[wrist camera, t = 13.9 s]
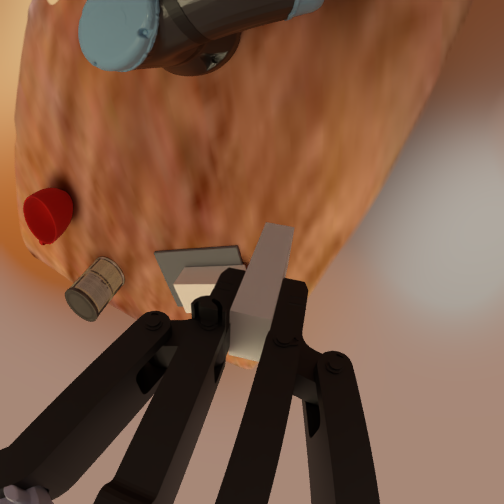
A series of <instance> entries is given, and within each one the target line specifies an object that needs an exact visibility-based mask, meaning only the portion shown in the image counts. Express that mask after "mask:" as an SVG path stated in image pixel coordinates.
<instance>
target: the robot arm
mask: <svg viewBox="0 0 504 504" xmlns="http://www.w3.org/2000/svg"><path fill="white" fill-rule="evenodd" d="M323 2H324V0H87V2H86V4H85V6H84V8H83V12H82V16H81V18H80V21H79V29H78V35H79V42H80V46H81V49H82V52H83V54H84V56H85V57H86V59H87V60H88V61H89V62H90V63H91V64H92V65H93V66H96V67H97V68H100V69H101V70H105V71H118V72H127V71H130V70H136V69H146V68H158V67H162V68H164V69H165V70H167V71H169V72H171V73H173V74H176V75H180V76H199V75H204V74H207V73H210V72H213V71H215V70H216V69H218V68H220V67H221V66H222V65H224V64H225V63H226V62H227V61H228V60H229V59H230V58H231V56H232V55H233V54H234V52H235V50H236V48H237V46H238V43H239V40H240V34H241V31H244V30H247V29H251V28H254V27H258V26H261V25H265V24H269V23H273V22H277V21H281V20H285V21H286V20H288V19H291V18H293V17H295V16H299V15H303V14H307V13H311V12H314V11H316V10H317V9H318V8H320V7H321V6H322V4H323ZM293 233H294V227H289V226H284V225H278V224H273V223H267V222H266V224H265V226H264V229H263V231H262V234H261V236H260V238H259V241H258V243H257V246H256V248H255V251H254V253H253V255H252V258H251V260H250V263H249V265H248V268H247V270H246V271H245V270H240V269H235V268H230V267H229V268H227V269H226V270H225V271H223V272H222V273H221V274H220V276H219V278H218V280H217V282H216V284H215V286H214V288H213V290H212V292H211V294H210V296H209V295H206V296H200V297H198V298H196V299H194V301H193V302H192V303H191V312H192V319H188V320H170V319H169V316H167V315H166V314H165V313H163V312H160V311H151V312H147V313H145V314H144V315H142V316H141V317H140V318H139V319H138V320H137V321H135V322H134V323H133V324H132V325H131V326H130V327H129V328H128V329H127V330H126V331H125V332H124V333H123V334H122V335H121V336H120V337H119V338H118V339H116V341H114V342H113V343H112V344H111V345H110V346H109V347H108V348H107V349H106V350H105V351H104V352H103V353H102V354H101V355H100V356H99V357H98V358H97V359H96V360H94V361H93V362H92V363H91V364H90V365H89V366H88V367H87V368H86V369H85V370H84V371H83V372H82V373H81V374H80V375H79V376H78V377H77V378H76V379H75V380H74V381H73V382H72V383H71V384H70V385H69V386H68V387H67V388H66V389H65V390H64V391H63V392H62V393H61V394H60V395H59V396H58V397H57V398H56V399H55V400H54V401H53V402H52V403H51V404H50V405H49V406H48V407H47V408H46V409H45V410H44V411H43V412H42V413H41V414H40V415H39V416H38V417H37V418H36V419H35V420H34V421H33V422H32V423H31V424H30V425H29V426H28V427H27V428H26V429H25V430H24V431H23V432H22V433H21V435H20V436H19V437H18V438H17V439H16V440H15V441H14V442H13V443H12V444H11V445H10V446H9V447H7V448H4V449H2V450H0V504H54V503H53V502H52V500H53V499H55V498H57V497H59V496H60V495H62V494H63V493H65V492H66V491H68V490H69V489H70V488H71V487H72V486H73V485H74V484H75V483H76V482H77V481H78V480H79V478H80V477H81V476H82V475H83V474H84V473H85V472H86V471H87V469H88V468H89V467H90V466H91V465H92V464H93V463H94V462H95V461H96V460H97V458H98V457H99V456H100V455H101V454H102V453H103V452H104V451H105V449H106V448H107V447H108V446H109V445H110V444H111V442H112V441H113V440H114V439H115V438H116V437H117V436H118V435H119V433H120V432H121V431H122V430H123V429H124V428H125V427H126V426H127V424H128V423H129V422H130V421H131V420H132V419H133V418H134V416H135V415H136V414H137V413H138V412H139V410H141V408H142V407H143V406H144V405H145V404H146V402H147V401H148V400H149V399H150V398H151V397H152V396H153V394H154V396H153V398H152V400H151V402H150V404H149V406H148V408H147V410H146V412H145V414H144V416H143V418H142V420H141V422H140V424H139V426H138V428H137V431H136V433H135V435H134V437H133V439H132V441H131V443H130V445H129V447H128V449H127V451H126V453H125V456H124V458H123V460H122V462H121V464H120V466H119V468H118V470H117V472H116V475H115V477H114V478H113V480H112V481H111V482H109V483H107V484H105V485H104V486H103V487H102V488H101V490H100V491H99V493H98V495H97V497H96V499H95V502H94V504H173V503H174V500H175V497H176V495H177V493H178V490H179V487H180V485H181V482H182V480H183V477H184V474H185V472H186V469H187V466H188V464H189V461H190V458H191V456H192V453H193V450H194V448H195V445H196V443H197V440H198V437H199V435H200V432H201V429H202V427H203V424H204V421H205V418H206V416H207V413H208V410H209V408H210V405H211V402H212V400H213V397H214V394H215V391H216V389H217V386H218V383H219V381H220V378H221V375H222V372H223V370H224V367H225V361H226V355H227V352H228V350H229V355H232V356H236V357H240V358H245V359H249V360H253V361H258V362H259V364H258V367H257V371H256V374H255V378H254V381H253V385H252V388H251V392H250V395H249V398H248V402H247V405H246V408H245V412H244V415H243V418H242V421H241V425H240V428H239V431H238V435H237V438H236V441H235V444H234V447H233V451H232V454H231V457H230V460H229V463H228V466H227V469H226V472H225V476H224V478H223V482H222V484H221V487H220V490H219V493H218V497H217V499H216V502H215V504H268V500H269V496H270V493H271V488H272V485H273V480H274V477H275V473H276V468H277V464H278V460H279V456H280V451H281V447H282V443H283V438H284V434H285V429H286V424H287V419H288V415H289V410H290V405H291V400H292V395H294V396H296V397H298V398H300V399H302V405H303V415H304V423H305V434H306V445H307V455H308V467H309V478H310V490H311V503H312V504H380V500H379V493H378V487H377V480H376V475H375V468H374V463H373V457H372V452H371V447H370V441H369V436H368V431H367V427H366V422H365V417H364V412H363V408H362V403H361V399H360V395H359V390H358V386H357V381H356V377H355V373H354V369H353V365H352V363H351V361H350V359H349V358H348V357H347V356H346V355H345V354H343V353H341V352H337V351H329V352H325V353H323V354H322V353H319V352H317V351H315V350H314V349H312V348H310V347H309V346H308V345H307V344H306V343H305V341H304V339H303V336H302V330H303V323H304V316H305V310H306V303H307V296H308V289H307V286H306V284H305V282H302V281H297V280H292V279H287V278H285V276H286V272H287V267H288V261H289V256H290V250H291V244H292V239H293Z"/></svg>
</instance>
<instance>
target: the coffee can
mask: <svg viewBox="0 0 504 504" xmlns="http://www.w3.org/2000/svg"><path fill="white" fill-rule="evenodd" d="M123 284H124V275H123V273H122V271H121V269H120V268H119V267H118V265H117V264H116V263H115V262H113V261H112V260H110V259H108V258H106V257H99V258H97V259H96V260H95V262H94V263H93V264H92V265H91V266H90V267H89V268H88V269H87V270H86V271H85V272H84V273H83V274H82V275H81V276H80V277H79V278H78V279H77V280H76V282H75V283H74V284H73V285H72V286H71V287H70V288H69V289H68V290H67V291H66V292H65V298H66V301H67V303H68V305H69V306H70V307H71V309H72V310H73V311H74V312H75V313H76V314H77V315H78V316H80V317H81V318H83V319H84V320H86V321H90V322H93V321H95V320H96V319H97V317H98V316H99V314H100V313H101V312H102V310H103V309H104V308H105V307H106V305H107V304H108V303H109V301H110V300H111V299H112V298H113V296H114V295H115V294H116V293H117V291H118V290H119V289H120V288H121V286H122V285H123Z"/></svg>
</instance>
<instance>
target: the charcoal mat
mask: <svg viewBox="0 0 504 504" xmlns="http://www.w3.org/2000/svg"><path fill="white" fill-rule="evenodd" d="M154 255H155V257H156V260H157V262H158V264H159V266H160V269H161V271H162V273H163V275H164V278H165V280H166V282H167V284H168V286H169V289H170V291H171V293H172V295H173V297H174V299H175V301H176V303H177V306H183V305H182V303H181V301H180V298H179V296H178V294H177V292H176V290H175V288H174V285H173V284H174V282H175V281H176V279H177V278H178V276H179V275H180V273H181V272H182V270H183V269H184V267H205V266H229V265H243V263H242V259H241V256H240V252H239V249H238V245H237V246H222V247H208V248H194V249H179V250H165V251H155V252H154Z"/></svg>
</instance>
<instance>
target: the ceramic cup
mask: <svg viewBox="0 0 504 504" xmlns="http://www.w3.org/2000/svg"><path fill="white" fill-rule="evenodd" d="M23 211H24V216H25V220H26V222H27V225H28V227H29V229H30V230H31V232H32V233H33V234H34V236H35V237H36V238H37V239H39V243H40V244H41V245H45V244H51V243H53V242H54V241H56V240H57V239H58V238H59V237H60V236H61V235H62V234H63V232H64V231H65V230H66V228H67V227H68V225H69V223H70V221H71V218H72V214H73V202H72V199H71V197H70V195H69V194H68V193H67V192H65V191H63V190H60V189H57V188H46V189H42V190H40V191H37V192H35V193H34V194H32V195H30V196H29V197H27V198H26V200H25V202H24V206H23Z"/></svg>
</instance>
